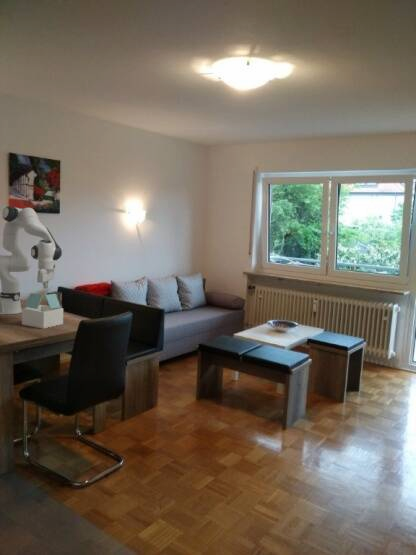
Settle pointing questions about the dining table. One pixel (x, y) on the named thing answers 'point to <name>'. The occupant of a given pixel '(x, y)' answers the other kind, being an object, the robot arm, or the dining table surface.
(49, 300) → the teal flap short
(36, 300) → the teal flap long
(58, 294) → the coffee box
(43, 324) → the carton
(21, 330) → the dining table surface
